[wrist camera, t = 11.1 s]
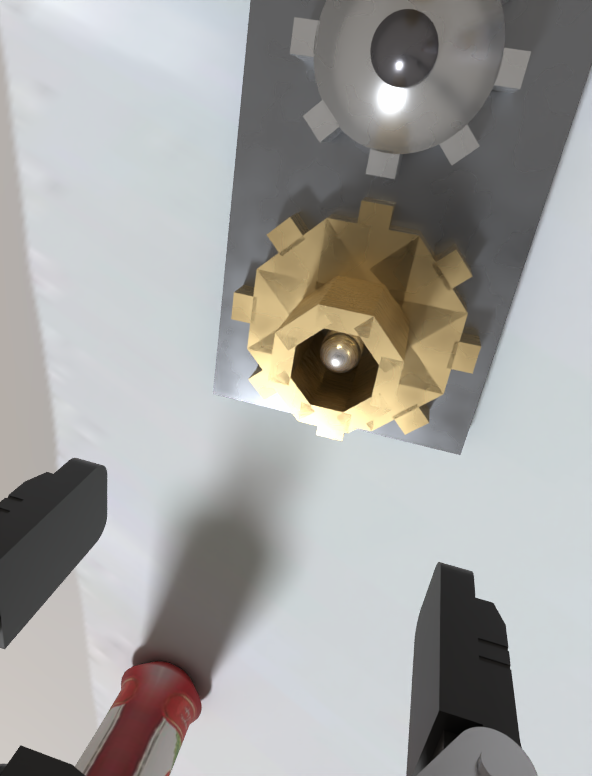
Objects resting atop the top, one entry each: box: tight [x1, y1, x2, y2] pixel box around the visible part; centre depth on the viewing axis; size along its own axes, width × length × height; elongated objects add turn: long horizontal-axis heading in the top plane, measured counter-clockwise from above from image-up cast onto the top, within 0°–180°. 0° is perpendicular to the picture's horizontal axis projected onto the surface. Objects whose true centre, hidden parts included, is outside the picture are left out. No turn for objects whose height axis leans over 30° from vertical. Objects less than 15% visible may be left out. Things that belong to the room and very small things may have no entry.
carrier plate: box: [213, 0, 592, 455], centre depth 21 cm, size 14×35×8 cm, turn 172°
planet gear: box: [231, 197, 481, 441], centre depth 25 cm, size 12×12×6 cm
